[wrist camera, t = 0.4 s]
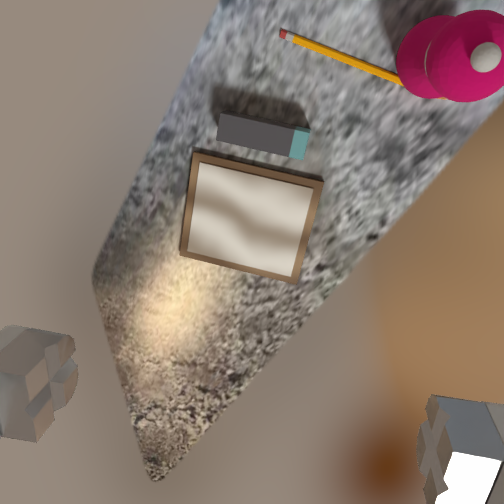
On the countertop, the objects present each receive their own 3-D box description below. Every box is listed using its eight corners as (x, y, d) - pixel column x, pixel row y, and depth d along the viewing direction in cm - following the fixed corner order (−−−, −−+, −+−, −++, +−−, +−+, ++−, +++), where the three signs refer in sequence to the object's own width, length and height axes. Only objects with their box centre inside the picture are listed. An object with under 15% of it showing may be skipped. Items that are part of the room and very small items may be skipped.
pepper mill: (385, 92, 48) (417, 112, 30) (398, 16, 45) (444, -13, 27) (454, 98, 47) (532, 122, 29) (473, 21, 44) (573, -6, 26)
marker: (226, 110, 51) (220, 112, 48) (310, 129, 50) (309, 133, 48) (222, 135, 52) (215, 140, 50) (304, 154, 52) (302, 160, 49)
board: (194, 151, 54) (192, 152, 53) (324, 181, 52) (323, 182, 52) (180, 253, 60) (179, 255, 59) (296, 282, 58) (296, 285, 58)
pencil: (282, 29, 47) (281, 29, 47) (450, 95, 47) (451, 96, 46) (279, 37, 48) (279, 36, 47) (446, 103, 47) (447, 103, 47)
